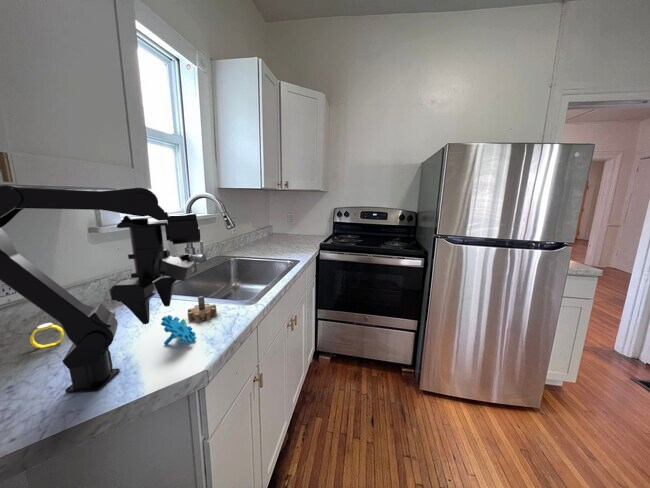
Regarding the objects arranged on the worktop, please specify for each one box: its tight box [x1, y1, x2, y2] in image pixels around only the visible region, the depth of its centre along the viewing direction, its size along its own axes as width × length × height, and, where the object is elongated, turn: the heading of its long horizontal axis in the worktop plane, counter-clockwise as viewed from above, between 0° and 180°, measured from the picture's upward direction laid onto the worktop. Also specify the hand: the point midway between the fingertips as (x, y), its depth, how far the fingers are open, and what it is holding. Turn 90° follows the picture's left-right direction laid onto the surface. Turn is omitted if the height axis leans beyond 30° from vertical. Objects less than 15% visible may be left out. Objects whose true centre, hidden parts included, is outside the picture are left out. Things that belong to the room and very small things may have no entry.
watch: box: [29, 322, 65, 350], centre depth 69 cm, size 6×3×6 cm, turn 125°
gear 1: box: [160, 314, 197, 346], centre depth 70 cm, size 11×6×10 cm
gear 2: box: [187, 295, 218, 323], centre depth 85 cm, size 9×9×6 cm
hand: (157, 314), depth 60 cm, fingers open, 9 cm apart
